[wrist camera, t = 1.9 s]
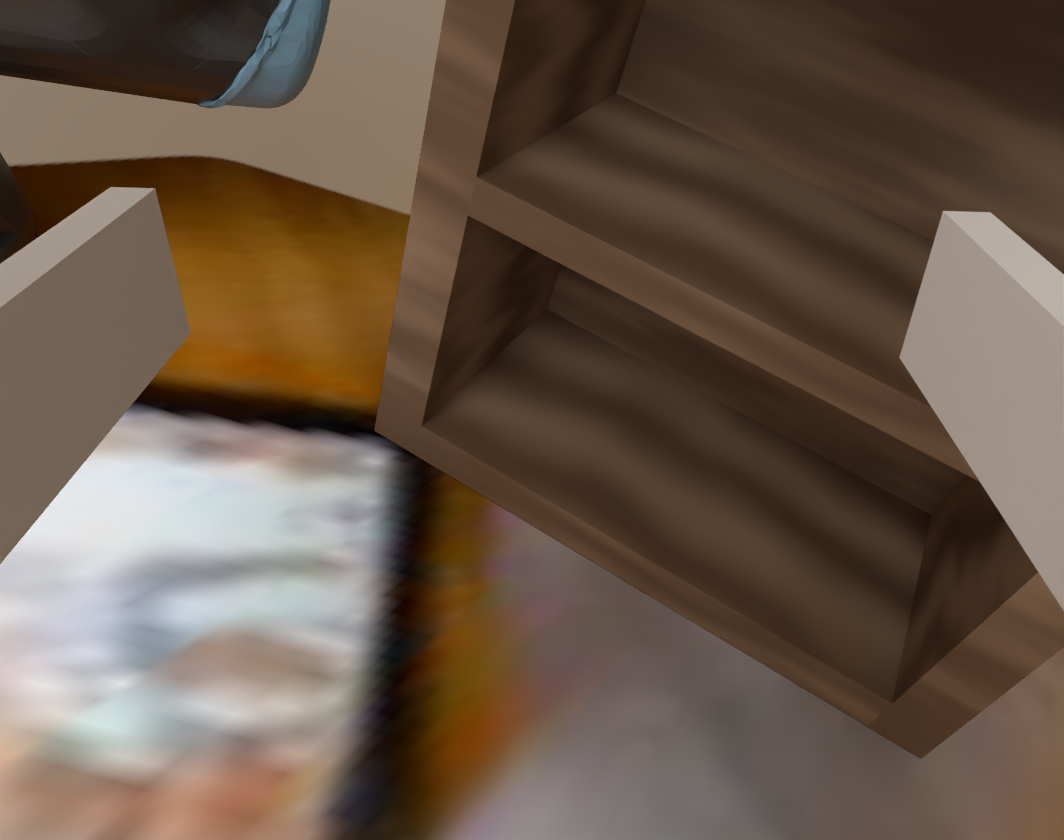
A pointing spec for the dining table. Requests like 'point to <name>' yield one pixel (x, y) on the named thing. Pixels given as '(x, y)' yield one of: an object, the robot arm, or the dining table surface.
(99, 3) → the robot arm
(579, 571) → the dining table surface
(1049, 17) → the walnut shelf
